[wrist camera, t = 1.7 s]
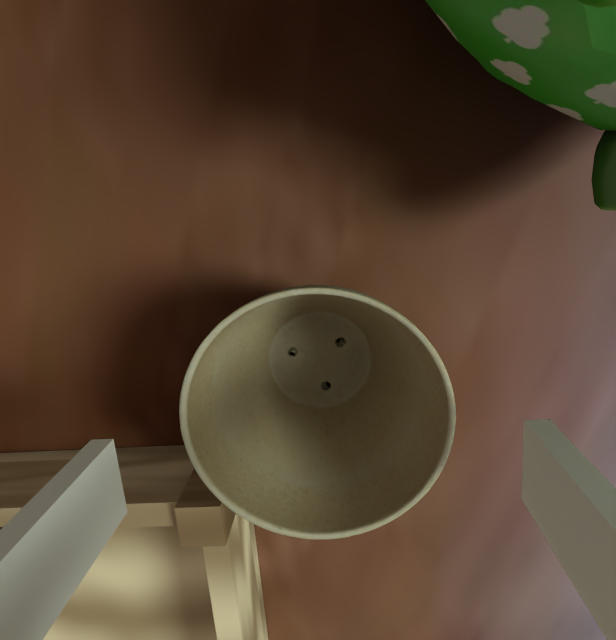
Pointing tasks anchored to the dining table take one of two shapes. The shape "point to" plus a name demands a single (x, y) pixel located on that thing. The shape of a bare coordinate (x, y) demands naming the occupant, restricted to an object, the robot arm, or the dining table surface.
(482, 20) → the piggy bank
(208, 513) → the crate
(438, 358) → the flower pot
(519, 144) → the dining table surface
